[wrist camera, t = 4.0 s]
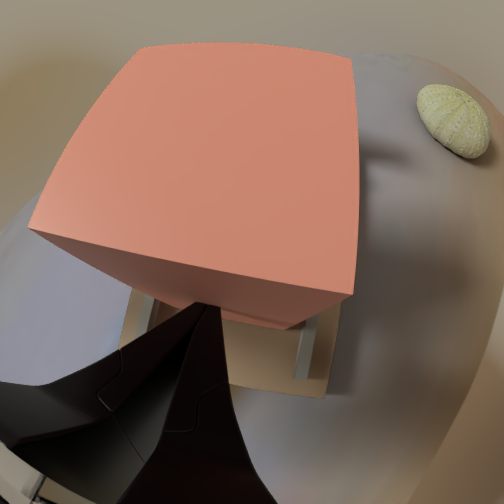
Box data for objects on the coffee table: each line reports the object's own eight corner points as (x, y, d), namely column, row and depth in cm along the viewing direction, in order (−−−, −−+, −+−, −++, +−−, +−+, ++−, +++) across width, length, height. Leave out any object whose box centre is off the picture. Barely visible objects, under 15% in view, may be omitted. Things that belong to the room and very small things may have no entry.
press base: (318, 393, 14) (350, 418, 9) (128, 350, 15) (73, 349, 10) (345, 146, 20) (366, 91, 14) (200, 125, 21) (187, 69, 15)
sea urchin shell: (401, 77, 21) (461, 58, 16) (425, 122, 26) (476, 108, 21) (425, 135, 18) (500, 115, 13) (443, 181, 23) (504, 167, 18)
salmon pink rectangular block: (283, 330, 14) (353, 294, 4) (174, 307, 15) (27, 227, 4) (300, 226, 16) (350, 59, 5) (200, 209, 16) (140, 48, 6)
